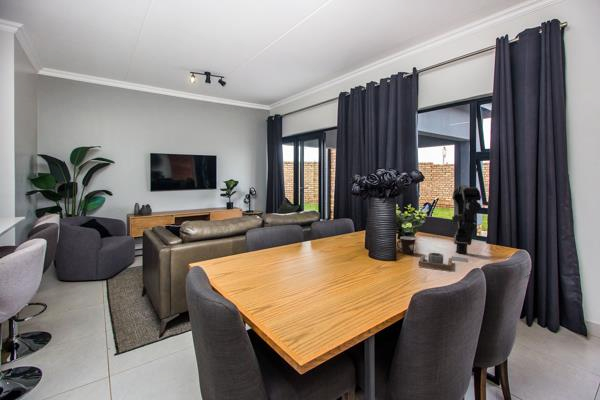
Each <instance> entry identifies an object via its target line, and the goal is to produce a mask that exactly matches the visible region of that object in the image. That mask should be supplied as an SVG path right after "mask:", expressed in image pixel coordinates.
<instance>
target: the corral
mask: <svg viewBox="0 0 600 400" xmlns="http://www.w3.org/2000/svg"><path fill="white" fill-rule="evenodd" d="M425 259H426V255H425V254H421V256H420V259H419V260H418V267H419V268H421V269H424V268H426V269H428V270H431V269H433V270H435V271H438V270H440V272H443V271H444V272H445V271H447V272H448V273H451V272H452V265H453V264H452V263H453V260H452V258H451V257H448V261H447V264H444V263H443V264H438V263H431V262H428V261H425Z"/></svg>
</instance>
